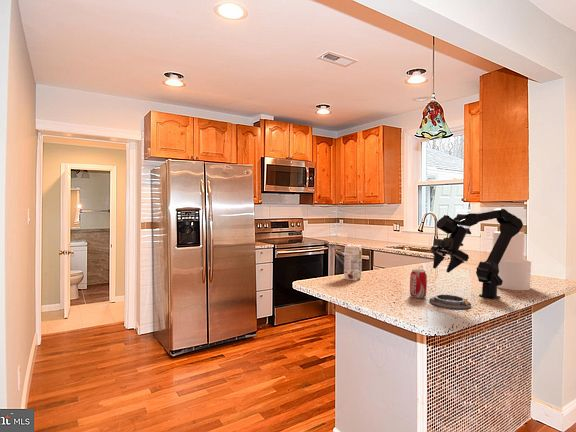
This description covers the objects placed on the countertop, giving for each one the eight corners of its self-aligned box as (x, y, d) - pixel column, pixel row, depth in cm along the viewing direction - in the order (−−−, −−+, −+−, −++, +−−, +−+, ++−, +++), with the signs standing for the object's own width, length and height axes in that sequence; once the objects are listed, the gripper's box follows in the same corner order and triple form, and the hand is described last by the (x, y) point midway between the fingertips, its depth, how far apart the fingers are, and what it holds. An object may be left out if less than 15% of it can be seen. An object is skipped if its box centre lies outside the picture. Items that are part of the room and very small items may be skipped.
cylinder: (483, 283, 191) (485, 231, 190) (507, 281, 197) (509, 231, 196) (512, 291, 175) (514, 234, 174) (538, 289, 180) (540, 234, 179)
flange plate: (445, 297, 161) (445, 288, 161) (479, 306, 148) (479, 296, 147) (421, 301, 153) (421, 292, 153) (454, 311, 140) (455, 301, 139)
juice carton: (357, 281, 192) (357, 246, 191) (342, 279, 197) (343, 245, 196) (362, 279, 198) (363, 245, 198) (348, 277, 203) (348, 243, 202)
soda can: (426, 299, 157) (427, 272, 156) (409, 298, 159) (410, 271, 159) (426, 295, 163) (426, 269, 163) (409, 294, 166) (410, 268, 165)
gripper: (429, 228, 165) (414, 258, 164) (456, 232, 147) (439, 265, 146) (447, 239, 168) (432, 269, 167) (476, 244, 149) (460, 277, 148)
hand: (440, 270), depth 157 cm, fingers open, 9 cm apart
